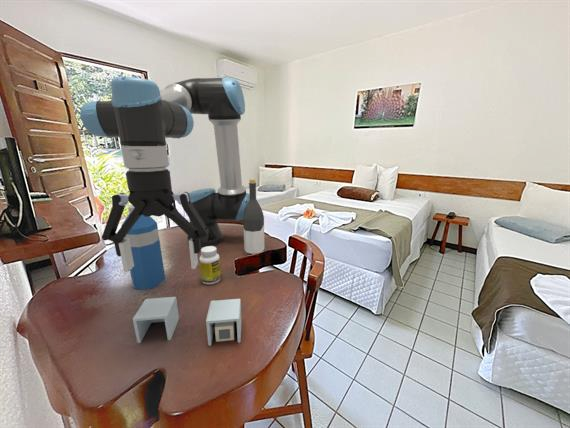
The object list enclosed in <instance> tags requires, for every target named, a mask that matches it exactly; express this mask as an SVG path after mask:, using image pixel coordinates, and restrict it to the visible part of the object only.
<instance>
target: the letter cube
mask: <svg viewBox="0 0 570 428" xmlns="http://www.w3.org/2000/svg"><path fill="white" fill-rule="evenodd" d="M235 331H236V323H235V321H231V322H220V323H215V328H214V333H215V334H214V335H215V342H226V341H235V333H236V332H235Z"/></svg>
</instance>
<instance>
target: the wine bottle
mask: <svg viewBox="0 0 570 428" xmlns="http://www.w3.org/2000/svg"><path fill="white" fill-rule="evenodd" d="M248 185H249V186H248V189H249V191H248V193H249V194H250V199H249V202H248V204H247V205H246V208H245V211H244V215H243V220H242V221H243V222H242V224H243V225H242V226H243V244H244V245H243V247H244V250H243V251H244V254H245V253H246V254H247V255H252V254H257V253H260V252H262V251H264V252H265V251H266V249H265V216H264V212H263V209H262V207H261V205H260V203H259V201H258V200H257V183H256V179H255V178H249V183H248ZM246 254H245V255H246Z"/></svg>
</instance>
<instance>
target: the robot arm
mask: <svg viewBox="0 0 570 428" xmlns="http://www.w3.org/2000/svg"><path fill="white" fill-rule="evenodd" d="M110 87H111V88H110V89H111V98H112V100H103V101H101V100H95V101H87V102H85V103H83V104H82V105H81V107H80V110H79V111H80V112H79V115H80V117H79V118H80V121H81V123H82V125H83V127H84V128H85V129H86V131H87V132H88V133H89V134H91V135H93V136H95V137H98V138H99V137H100V138H107V139H108V138H109V139H111V138H119V139H120V141H119V143H120V145H121V146H120V149H121V155H122V161H123V166H124V167H125V169H128V170H127V171H126V172H125V178H126V184H127V189H128V192H129V194H125V193H124V192H119V193H117V194H114V195H112V197H111V204H112V205H111V206H112V207H111V210H110V212H109V215H108V219H107V221H106V224H105V227H104V230H103V232H102V235H101V238H102V240H103V241H110V242H113V243H114V249H115V253H116V254H115V255H116V256H117V257H120V258H121V263H122V268H123V272H124V273H129V272H130V270H131V269H132V268H133V267H134V262H133V256H132V251H131V245H130V240H129V238H127V239H124V238H125V237H126V235H127V233H128V232H129V231H130V229H131V228H132V227H133V225H134V224H135V223H136V221H137V220H138V219H139V217H140V216H141V215H144V216H145V217H149V216H150V217H152V216H154V217H162V216H165V217H166V218H167V219H169V220H170V221H172V222H173V223H174V224H175V225H176V226H177V227H178V228H180V229H181V230H182V231H183V232H184V233H185V234H186V235H187V238H186V241H187V245H188V250H189V258H190V267H191V270H196V268H197V266H198V264H199V260H198V259H199V258H198V254H200V253H201V249H202V248H204V247H207V246H217V245H218V244H220V243H222V241H223V238H224V237H223V233H222V231H221V228H220V226H219V223H218V220H219V221H220V220H221V221H224V220H225V221H235V222H237V221H243V215H244V211H245V208H246V205H247V204H248V202H249V199H250V192H247V188H246V186H244V185H243V184H242V181H243V180H242V169H241V157H240V156H241V155H240V144H239V133H238V132H239V131H238V124H239V123H240V121H241V120H242V118H241V117H242V116H243V115H244V114H245V113H246V112H245V111H246V104H245V103H246V102H245V96H244V93H243V89H242V86H241V84H240V82H239V80H237V79H236V78H232V77H231V78H230V77H205V78H203V77H202V78H201V77H196V78H189V79H184V80H181V81H178V82H177V81H176V82H173V83H170V84H168V85H166V86H165V87H164V88H163V89H160V87H159V86H158V84H157V83H156V82H155V81H153V80H150V79H147V78H141V77H134V76H118V77H115V78H113V79H112V80H111V82H110ZM192 114H193V115H195V114H196V115H207V116H208V121H209V122H210V123H211V124H212V125H213V128H214V130H213V132H214V138H215V140H214V141H215V148H216V155H217V164H218V165H217V166H218V173H219V174H218V175H219V183H220V187H219V188H218V189H217V190H216V189H215V188H204V189H203V188H202V189H197V190H192V191H190V192H188V191H184V192H183V193H174V192H173V187H172V179H171V172H170V170H169V169H168V167H169V166H170V163H169V157H168V156H169V155H168V148H167V141H166V138H171V139H181V138H185V137H188V136H189V135H191V133H192V131H193V130H194V126H195V125H194V123H195V122H194V117H193V115H192ZM216 191H217V192H216ZM175 201H176V202H177V203H178V205H181V207H182V209H183V211H184V212H185V214H186V215H187V217H188V218H189V219H188V220H187V218H185V216H184V215H183V214H181V213H180V212H179V211H178V208H176V206H174V205H173V204H174V202H175ZM128 204H131V205H133V206H134V207H135V208H134V210H133V211H132V212H131V214H130V215H129V217H128V219H127V220H126V221H125V220H124V221H125V223H124V224H123V223H122V224H123V225H122V224H121V225H122V227H121V226H120V228H119V230H118V227H119V224H120V221H121V218H122V216H123V213H124V211H125V207H126V205H128Z"/></svg>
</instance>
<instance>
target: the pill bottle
mask: <svg viewBox="0 0 570 428" xmlns="http://www.w3.org/2000/svg"><path fill="white" fill-rule="evenodd" d="M217 249H218V248H217V247H216V246H215V245H213V246H207V247H201V250H200V256H199V258H198V259H199V260H198V263H199V271H200V280H201V283H202V284H204V285H215V284H217V283H219V282H220V281H221V279H222V271H221V258H220V255H219V253H217V252H218V251H217Z"/></svg>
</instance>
